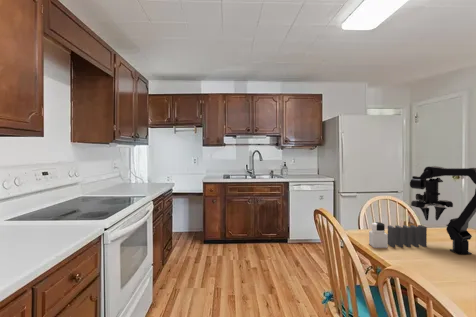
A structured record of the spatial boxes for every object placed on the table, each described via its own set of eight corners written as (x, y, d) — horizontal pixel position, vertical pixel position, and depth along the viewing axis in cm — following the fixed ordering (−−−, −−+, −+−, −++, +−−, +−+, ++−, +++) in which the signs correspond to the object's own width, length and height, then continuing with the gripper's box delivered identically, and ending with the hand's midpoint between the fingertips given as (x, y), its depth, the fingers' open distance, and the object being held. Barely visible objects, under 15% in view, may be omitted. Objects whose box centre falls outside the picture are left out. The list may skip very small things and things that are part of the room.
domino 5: (426, 246, 161) (426, 227, 161) (423, 246, 161) (423, 227, 161) (420, 243, 166) (420, 225, 166) (417, 243, 166) (417, 225, 166)
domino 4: (418, 246, 161) (418, 227, 161) (415, 246, 161) (415, 227, 161) (413, 243, 166) (413, 225, 166) (410, 244, 166) (410, 225, 166)
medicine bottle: (382, 244, 167) (382, 221, 166) (387, 248, 160) (387, 224, 159) (368, 243, 167) (368, 221, 167) (373, 247, 160) (373, 224, 160)
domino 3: (410, 246, 161) (411, 227, 161) (407, 247, 161) (407, 227, 161) (405, 244, 166) (405, 225, 166) (402, 244, 166) (402, 225, 166)
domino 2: (403, 247, 161) (403, 227, 161) (400, 247, 161) (400, 227, 161) (398, 244, 166) (398, 225, 166) (395, 244, 166) (395, 225, 166)
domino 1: (395, 247, 161) (395, 227, 161) (392, 247, 161) (392, 227, 161) (390, 244, 166) (390, 225, 166) (387, 244, 166) (387, 225, 166)
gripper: (439, 188, 171) (439, 216, 172) (405, 188, 171) (405, 217, 171) (453, 191, 160) (453, 221, 160) (417, 191, 160) (417, 221, 160)
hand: (431, 220), depth 163 cm, fingers open, 5 cm apart
